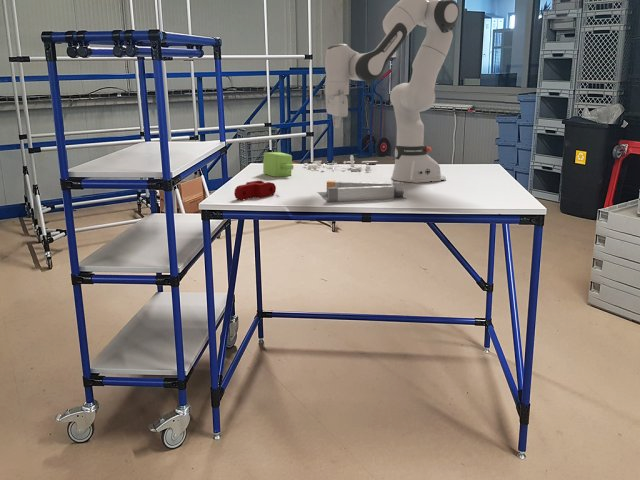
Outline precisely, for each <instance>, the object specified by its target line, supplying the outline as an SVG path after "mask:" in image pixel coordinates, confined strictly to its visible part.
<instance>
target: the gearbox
mask: <svg viewBox="0 0 640 480" xmlns="http://www.w3.org/2000/svg"><path fill="white" fill-rule="evenodd" d="M262 162H263V163H262V164H263V171H262V172H263V173H262V174H265V175H268V176H271V177H277V178H278V177H280V178H281V177H287V176H292V170H294V164H292V163H293V156H292V155H291V154H288V153H284V152H278V151H276V152H275V151H273V152H263V161H262Z"/></svg>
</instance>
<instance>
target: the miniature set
mask: <svg viewBox="0 0 640 480" xmlns="http://www.w3.org/2000/svg"><path fill="white" fill-rule="evenodd" d="M349 159H350V161H349V160H348V161H346V160H344V161H343V164H345V165H347V163H348V164H349V163H350V165H348V166H349V167H350V171H351V172H362V170H363V169H362V168H363V167H362V164H363V163H365V171H371V166H377V164H376V163H377V162H378V160H363V161H361V163H362V164H355V162H356V161H355V160H354V159H355V157H354V155H352V154H351V155H350V156H349ZM322 162H323V161H322V160H315V161H313V162H312V163H308V162H304V164H303V165H304V167H307V168H308V170H310V171H312V172H315V171H316V172H319V168H318V167H322V168H323V169H325V168H328V167H329V168H332V171H333V172H334V171H335V168H336V167H342V166H343V165H342V164H340V165H338V162H335V161H334V160H332V161H329V160H328V161H326V163H323V164H322ZM327 165H328V166H327ZM341 172H346V168H341Z"/></svg>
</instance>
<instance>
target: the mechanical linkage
mask: <svg viewBox="0 0 640 480" xmlns="http://www.w3.org/2000/svg"><path fill="white" fill-rule="evenodd" d="M275 184H276V183H274V182H270V181H267V182H266V181H265V182H264V180H259V179H257V180H253V181H252V180H251V181H246V182H245V184H240V185H237V186H236V187H235V188H234V197H235V199H236V200H239V199H240V201H244V200H243V199H245V200H248V198H250V199H254V198H257V197H259V198H258V199H262V198H266V197H271V196H274V195H275V194H276V191H277V187H276V185H275ZM253 197H254V198H253Z"/></svg>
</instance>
